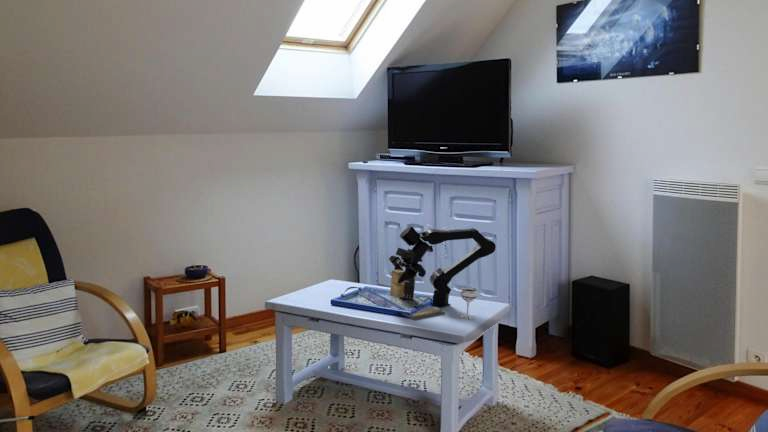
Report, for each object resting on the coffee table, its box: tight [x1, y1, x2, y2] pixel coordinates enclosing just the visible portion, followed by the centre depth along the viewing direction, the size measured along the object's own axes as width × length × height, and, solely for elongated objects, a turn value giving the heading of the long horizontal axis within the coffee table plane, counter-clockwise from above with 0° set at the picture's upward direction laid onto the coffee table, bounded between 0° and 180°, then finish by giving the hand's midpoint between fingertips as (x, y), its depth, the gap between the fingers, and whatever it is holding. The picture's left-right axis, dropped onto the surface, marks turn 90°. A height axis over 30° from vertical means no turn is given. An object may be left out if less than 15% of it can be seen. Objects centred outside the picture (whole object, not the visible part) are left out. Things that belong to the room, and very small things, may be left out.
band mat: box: [401, 305, 446, 321], centre depth 279 cm, size 17×11×2 cm, turn 129°
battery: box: [399, 277, 416, 301], centre depth 297 cm, size 7×4×11 cm, turn 70°
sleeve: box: [389, 269, 405, 299], centre depth 282 cm, size 4×4×11 cm
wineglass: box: [460, 286, 478, 320], centre depth 277 cm, size 7×7×12 cm
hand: (395, 281), depth 280 cm, fingers closed on sleeve, 4 cm apart
